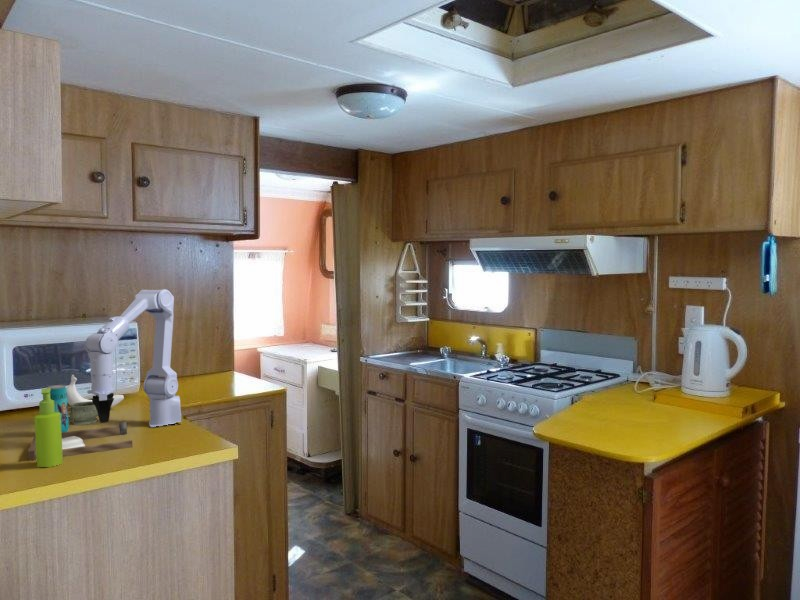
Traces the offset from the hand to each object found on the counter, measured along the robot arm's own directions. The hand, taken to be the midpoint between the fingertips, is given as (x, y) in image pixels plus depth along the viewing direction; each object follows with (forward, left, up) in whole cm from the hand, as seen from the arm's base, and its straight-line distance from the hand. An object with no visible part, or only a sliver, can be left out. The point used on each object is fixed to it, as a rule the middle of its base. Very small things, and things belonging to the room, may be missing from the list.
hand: (104, 420), depth 180 cm
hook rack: (+6, 0, -7) cm, 9 cm away
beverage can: (+13, -19, -7) cm, 24 cm away
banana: (+3, -48, -7) cm, 49 cm away
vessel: (+6, -33, -7) cm, 34 cm away
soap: (+10, 0, -7) cm, 13 cm away
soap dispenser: (+13, +16, -7) cm, 22 cm away
